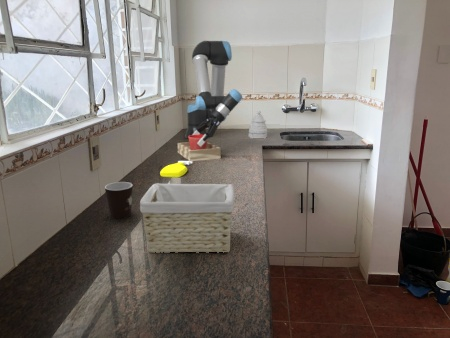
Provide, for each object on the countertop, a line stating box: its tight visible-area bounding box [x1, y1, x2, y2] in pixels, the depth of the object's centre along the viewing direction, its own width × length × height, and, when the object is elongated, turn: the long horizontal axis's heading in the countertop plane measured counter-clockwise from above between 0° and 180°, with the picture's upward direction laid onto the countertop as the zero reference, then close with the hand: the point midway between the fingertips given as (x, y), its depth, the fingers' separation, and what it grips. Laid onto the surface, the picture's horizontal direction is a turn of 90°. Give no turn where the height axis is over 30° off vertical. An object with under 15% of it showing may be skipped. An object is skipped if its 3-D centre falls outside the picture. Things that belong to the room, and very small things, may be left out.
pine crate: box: [177, 141, 222, 162], centre depth 201 cm, size 22×17×6 cm
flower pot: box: [188, 135, 209, 150], centre depth 200 cm, size 11×11×10 cm
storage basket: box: [139, 182, 236, 254], centre depth 100 cm, size 24×16×15 cm
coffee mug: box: [104, 181, 134, 220], centre depth 120 cm, size 12×9×10 cm
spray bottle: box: [159, 160, 194, 178], centre depth 173 cm, size 3×11×24 cm
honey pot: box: [248, 110, 268, 139], centre depth 253 cm, size 13×13×18 cm
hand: (194, 142), depth 199 cm, fingers open, 13 cm apart
